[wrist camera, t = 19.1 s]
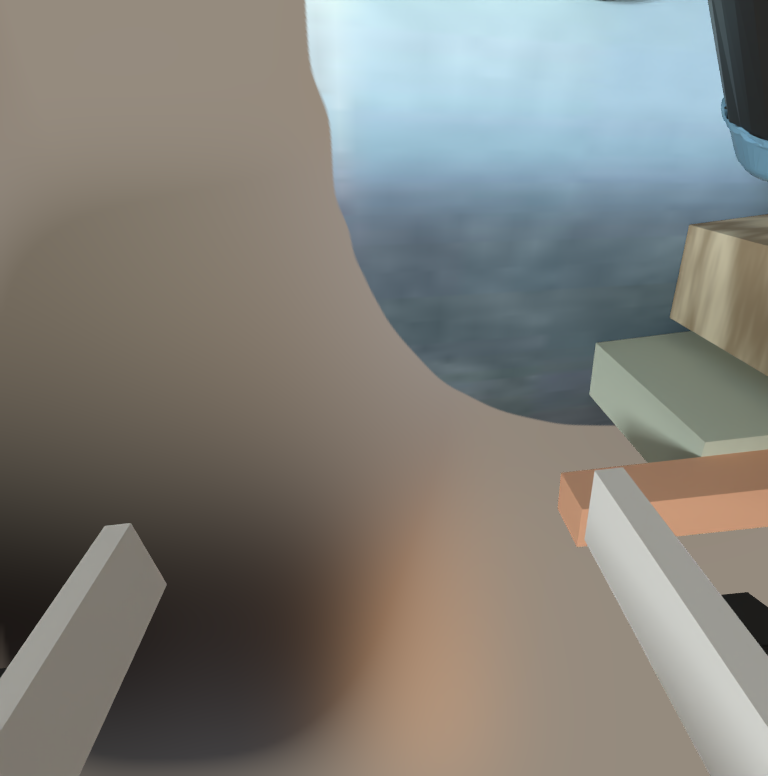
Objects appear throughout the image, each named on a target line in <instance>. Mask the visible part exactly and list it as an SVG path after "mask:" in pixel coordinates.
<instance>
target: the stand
mask: <svg viewBox="0 0 768 776" xmlns="http://www.w3.org/2000/svg"><path fill="white" fill-rule="evenodd" d="M670 318H671V319H673V320H675V321H676V322H678V323H680V324H681V325H683V326H685V327H686V328H688V329H690V330H691V331H693V332H695V333H696V334H698V335H700V336H701V337H703V338H705V339H706V340H708V341H710V342H711V343H713V344H715V345H716V346H718V347H720V348H721V349H723V350H725V351H726V352H728V353H730V354H731V355H733V356H735V357H736V358H738V359H740V360H741V361H743V362H745V363H746V364H748V365H750V366H751V367H753V368H755V369H756V370H758V371H760V372H761V373H763V374H765V375H766V376H768V214H766V215H758V216H751V217H743V218H736V219H729V220H721V221H714V222H706V223H699V224H692V225H689V229H688V233H687V238H686V243H685V248H684V252H683V257H682V262H681V266H680V271H679V276H678V281H677V285H676V290H675V295H674V300H673V304H672V309H671V314H670Z"/></svg>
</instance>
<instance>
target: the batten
mask: <svg viewBox="0 0 768 776" xmlns="http://www.w3.org/2000/svg"><path fill="white" fill-rule="evenodd" d="M621 467H623V468H624V469H625V470H626V472H627V473H628V474H629V476H630V477H631V478H632V480H633V481H634V482H635V484H636V485H637V486H638V487H639V489H640V490H641V491H642V493H643V494H644V495H645V497H646V498H647V499H648V500H649V502H650V503H651V504H652V506H653V507H654V508H655V510H656V511H657V512H658V513H659V515H660V516H661V517H662V519H663V520H664V521H665V523H666V524H667V525H668V527H669V528H670V529H671V530H672V532H673V533H674V534H675V536H684V535H693V534H703V533H712V532H722V531H730V530H741V529H750V528H759V527H768V449H766V450H757V451H749V452H740V453H731V454H722V455H713V456H705V457H696V458H687V459H678V460H669V461H661V462H652V463H644V464H635V465H626V466H617V467H608V468H600V469H591V470H582V471H573V472H565V473H561V480H560V490H559V501H558V510H559V512H560V514H561V516H562V518H563V520H564V522H565V524H566V526H567V528H568V530H569V532H570V534H571V536H572V538H573V540H574V542H575V544H576V546H577V547H581V546H588V545H587V544H586V542H585V540H584V539H585V532H586V525H587V519H588V512H589V505H590V498H591V492H592V485H593V478H594V471H595V470H603V469H612V468H621Z"/></svg>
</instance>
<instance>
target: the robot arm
mask: <svg viewBox="0 0 768 776" xmlns="http://www.w3.org/2000/svg"><path fill="white" fill-rule="evenodd" d="M708 5H709V11H710V17H711V23H712V29H713V34H714V40H715V46H716V52H717V58H718V64H719V70H720V76H721V82H722V88H723V93H724V98H723V100H722V104H721V111H722V117H723V119H724V121H725V122H726V124H727V127H728V128H729V129H730V133H731V137H732V142H733V146H734V150H735V154H736V157H737V159H738V161H739V162H740V163H741V165H742V166H743V167H744V169H745V170H746V171H748V172H749V173H750V174H751V175H753V176H755V177H757V178H759V179H761V180H764V181H767V182H768V0H708ZM584 540H585V542H586V544H587V545H588V547H589V549H590V551H591V553H592V555H593V556H594V559H595V560H596V562H597V564H598V566H599V568H600V570H601V572H602V573H603V575H604V577H605V579H606V581H607V583H608V585H609V587H610V588H611V590H612V592H613V594H614V596H615V598H616V600H617V602H618V603H619V605H620V607H621V609H622V611H623V613H624V615H625V617H626V619H627V621H628V622H629V624H630V626H631V628H632V630H633V632H634V634H635V635H636V637H637V639H638V641H639V643H640V645H641V647H642V649H643V650H644V652H645V654H646V656H647V658H648V660H649V662H650V664H651V666H652V667H653V669H654V671H655V673H656V675H657V677H658V679H659V681H660V683H661V684H662V686H663V688H664V690H665V692H666V694H667V696H668V697H669V699H670V701H671V703H672V705H673V707H674V709H675V710H676V712H677V714H678V716H679V718H680V720H681V722H682V724H683V726H684V728H685V729H686V731H687V733H688V735H689V737H690V739H691V741H692V743H693V744H694V746H695V748H696V750H697V752H698V754H699V756H700V757H701V759H702V761H703V763H704V765H705V767H706V769H707V771H708V773H709V775H710V776H768V607H767V606H765V605H764V604H763V603H761V602H760V601H759V600H757V599H756V598H755V597H753V596H752V595H750V594H749V593H748V592H745V593H735V594H726V595H721V594H720V593H719V592H718V590H717V589H716V588H715V586H714V585H713V584H712V583H711V581H710V580H709V579H708V577H707V576H706V575H705V573H704V572H703V571H702V570H701V568H700V567H699V566H698V564H697V563H696V562H695V560H694V559H693V558H692V557H691V555H690V554H689V553H688V551H687V550H686V549H685V547H684V546H683V545H682V544H681V542H680V541H679V540H678V538H677V537H676V536H675V534H674V533H673V532H672V530H671V529H670V528H669V527H668V525H667V524H666V523H665V521H664V520H663V519H662V517H661V516H660V515H659V513H658V512H657V511H656V510H655V508H654V507H653V506H652V504H651V503H650V502H649V500H648V499H647V498H646V497H645V495H644V494H643V493H642V491H641V490H640V489H639V487H638V486H637V485H636V484H635V482H634V481H633V480H632V478H631V477H630V476H629V474H628V473H627V472H626V470H625V469H624V468H623V467H621V468H612V469H603V470H595V471H594V478H593V485H592V492H591V498H590V505H589V512H588V519H587V525H586V532H585V539H584ZM166 585H167V584H166V582H165V581H164V579H163V577H162V575H161V574H160V572H159V570H158V569H157V567H156V565H155V564H154V562H153V560H152V558H151V557H150V555H149V553H148V552H147V550H146V548H145V547H144V545H143V543H142V541H141V540H140V538H139V536H138V535H137V533H136V532H135V529H134V528H133V526H132V524H131V523H127V524H119V525H110V526H105V527H104V528H103V530H102V531H101V533H100V534H99V535H98V537H97V538H96V540H95V541H94V543H93V544H92V545H91V547H90V549H89V550H88V551H87V553H86V554H85V556H84V557H83V559H82V560H81V562H80V563H79V564H78V566H77V568H76V569H75V570H74V572H73V573H72V575H71V576H70V578H69V579H68V580H67V582H66V583H65V585H64V586H63V588H62V589H61V591H60V592H59V593H58V595H57V596H56V598H55V600H54V601H53V602H52V604H51V605H50V607H49V608H48V610H47V611H46V612H45V614H44V615H43V617H42V618H41V620H40V621H39V623H38V624H37V625H36V627H35V629H34V630H33V631H32V633H31V634H30V636H29V637H28V639H27V640H26V642H25V643H24V644H23V646H22V647H21V649H20V650H19V652H18V653H17V655H16V656H15V657H14V659H13V661H12V662H11V663H10V665H9V666H8V668H2V669H0V776H79V775H80V772H81V770H82V768H83V766H84V764H85V761H86V759H87V757H88V755H89V753H90V751H91V748H92V746H93V744H94V742H95V739H96V737H97V735H98V733H99V731H100V729H101V726H102V724H103V722H104V720H105V718H106V716H107V713H108V711H109V709H110V707H111V705H112V702H113V700H114V698H115V696H116V694H117V692H118V690H119V687H120V685H121V683H122V681H123V678H124V676H125V674H126V672H127V670H128V668H129V665H130V663H131V661H132V659H133V657H134V655H135V652H136V650H137V648H138V646H139V644H140V641H141V639H142V637H143V635H144V633H145V630H146V628H147V626H148V624H149V622H150V620H151V618H152V615H153V613H154V611H155V609H156V607H157V604H158V602H159V600H160V598H161V596H162V593H163V591H164V589H165V587H166Z"/></svg>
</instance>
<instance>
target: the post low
mask: <svg viewBox="0 0 768 776" xmlns="http://www.w3.org/2000/svg"><path fill="white" fill-rule="evenodd" d="M589 395H590V396H591V397H592V398H593V399H594V400H595V402H596V403H597V404H598V405H599V406H600V407H601V409H602V410H603V411H604V412H605V413H606V415H607V416H608V417H609V418H610V419H611V420H612V422H613V423H614V424H615V425H616V426H617V427H618V429H619V430H620V431H621V432H622V433H623V434H624V436H625V437H626V438H627V439H628V440H629V441H630V443H631V444H632V445H633V446H634V447H635V448H636V450H637V451H638V452H639V453H640V454H641V455H642V457H643V458H644V459H645V460H646V461H647V462H648V463H652V462H661V461H669V460H678V459H687V458H696V457H705V456H713V455H722V454H731V453H740V452H749V451H757V450H766V449H768V376H766V375H765V374H763V373H761V372H760V371H758V370H756V369H755V368H753V367H751V366H750V365H748V364H746V363H745V362H743V361H741V360H740V359H738V358H736V357H735V356H733V355H731V354H730V353H728V352H726V351H725V350H723V349H721V348H720V347H718V346H716V345H715V344H713V343H711V342H710V341H708V340H706V339H705V338H703V337H701V336H700V335H698V334H696V333H695V332H693V331H688V332H680V333H672V334H664V335H656V336H648V337H640V338H632V339H624V340H616V341H608V342H600V343H596V347H595V354H594V362H593V370H592V378H591V386H590V394H589Z"/></svg>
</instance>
